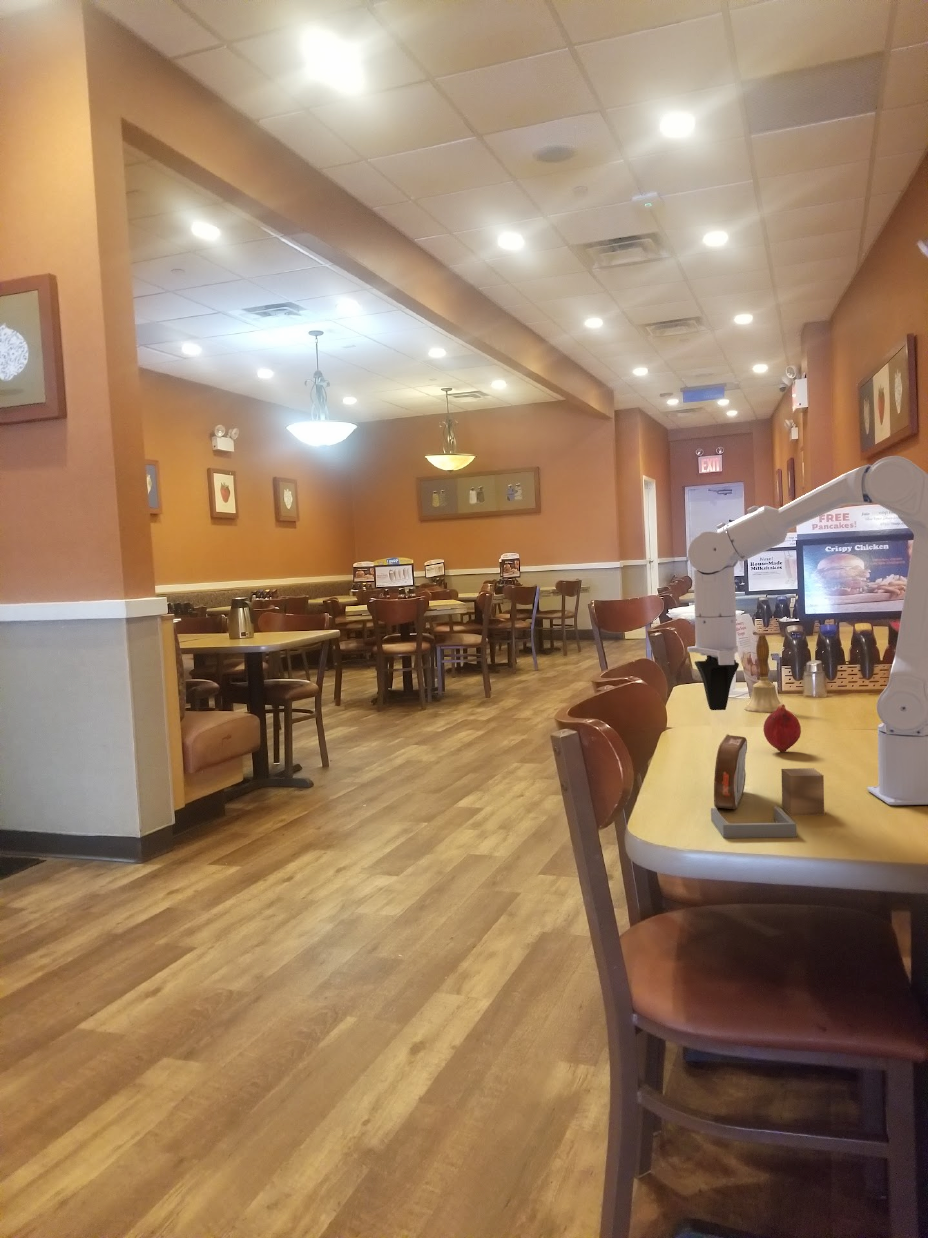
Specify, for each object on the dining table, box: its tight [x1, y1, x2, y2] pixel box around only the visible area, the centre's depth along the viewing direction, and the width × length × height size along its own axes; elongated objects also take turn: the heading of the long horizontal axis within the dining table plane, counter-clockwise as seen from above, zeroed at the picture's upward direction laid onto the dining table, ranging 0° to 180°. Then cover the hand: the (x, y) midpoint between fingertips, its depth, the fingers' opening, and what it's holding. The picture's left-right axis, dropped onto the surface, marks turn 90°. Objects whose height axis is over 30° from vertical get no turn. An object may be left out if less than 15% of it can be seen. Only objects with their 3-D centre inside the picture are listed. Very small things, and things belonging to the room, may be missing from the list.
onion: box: [763, 703, 802, 753], centre depth 146 cm, size 6×6×8 cm
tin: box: [713, 733, 748, 810], centre depth 117 cm, size 15×3×8 cm, turn 157°
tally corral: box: [710, 806, 797, 839], centre depth 105 cm, size 8×7×2 cm
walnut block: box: [781, 767, 825, 816], centre depth 112 cm, size 4×4×5 cm
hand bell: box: [744, 634, 782, 714], centre depth 188 cm, size 8×8×16 cm
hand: (717, 709), depth 128 cm, fingers closed
